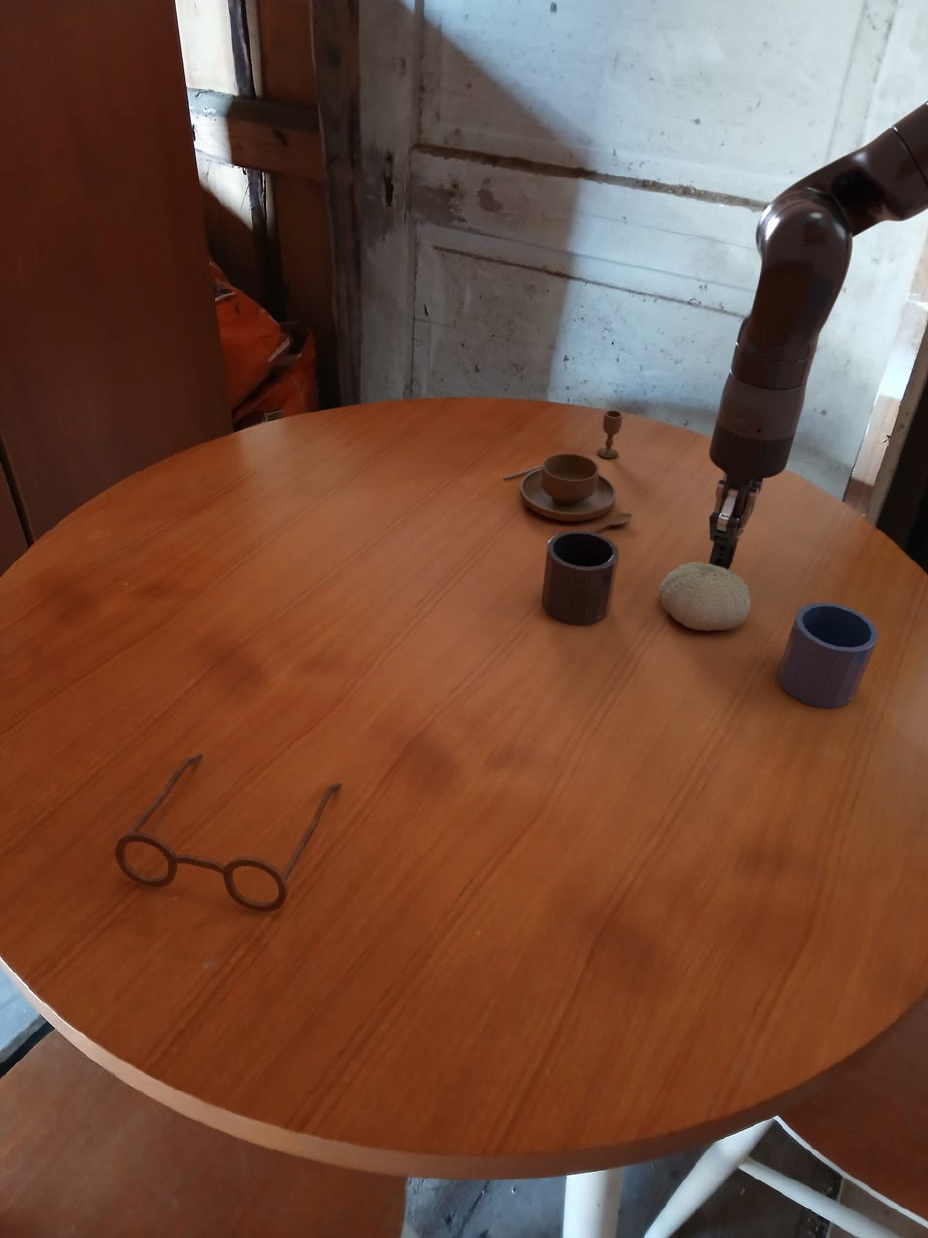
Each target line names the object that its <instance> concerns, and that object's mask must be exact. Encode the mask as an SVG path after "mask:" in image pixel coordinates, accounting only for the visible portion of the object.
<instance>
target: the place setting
mask: <svg viewBox="0 0 928 1238" xmlns="http://www.w3.org/2000/svg"><path fill="white" fill-rule="evenodd" d="M623 415H624V414H623V413H622V412H621V411H620V410H616V409H615V410H614V409H608V410H605V411H604V413H603V420H602V429H603V432H604V433H605V434H606V435H607V437H606V440H605V442H604V443H605V447H602V448H599V449H598V450H597V452H596V453H597V455H598V456H599V457H600V458H603V459H608V460H613V459H616V458H617V457H619V451H617V450H616V449H614V448H612V447H613V446H614V440H613V439H614V435H616V434H618V433H619V432H620V430H621V428H622V424H623V423H622V422H623V418H624V417H623ZM524 474H526V475H525V476H523V478H522V479H521V481H520V485H519V494H520V497H521V499H522V501H523V502H524V504H525V505H526V506H527V507H528V508H529V509H530V510H532V511H533V512H535V513H537V514H539V515H540V516H542V517H546V518H548V519H551V520H555V521H561V522H586V521H590V520H593V519H597V518H599V517H601V516H603V515H605V514H606V513H607V512H609V511H610V510H611V509H612V508H613V506H614V504H615V503H616V499H617V489H616V487H615V485H614V484H613V483H612V482H611V480H609V479H608V478H607V477H605V476H604V475H602V474H601V473H600V467H599V465H598V463H596V461H594V460H593V459H591V458H590V457H588V456H584V455H582V454H577V453H571V452H569V453H567V452H566V453H565V452H564V453H557V454H552V455H550V456H548V457H547V458H545V459H544V460H543V462H542V464H539V465H536V466H533V467H529V468H527V469H524V470H521V471H518V472H515V473H512V474H509V475H506V476H504V477H503V480H508V479H512V478H515V477H518V476H521V475H524ZM632 517H633V516H632V514H631V513H629V512H625V513H618V514H615V515H612V516H611V517H610V519H609V520H608V521H607V522H605V523H602V524H600V525H598V526H596V527H593V528H591V529H589V530H588V529H587V531H590V532H594V533H596V532H597V531H600V530H601V529H604V528H607V527H611V526H614V527H617V526H622V525H625V524H626V523H628V522H629V521H631V519H632Z"/></svg>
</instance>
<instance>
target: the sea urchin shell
mask: <svg viewBox="0 0 928 1238" xmlns="http://www.w3.org/2000/svg"><path fill="white" fill-rule="evenodd" d="M658 591H659V593H658V597H659V598H658V599H659V601H660V602H661V604H662V606H663V607H664V610H665V611H666V613H668V614H669V615H671V617H672V618H673V619H674V620H675V621H676V622H678V623H680V624H681V625H683V626H684V627H685V628H688V629H692V630H695V631H704V632H705V631H706V632H710V631H725V630H731V629H734V628H737V627H738V626H740V625H742V624H743V623H745V621H747V618H748V615H749V612H750V610H751V608H752V601H751V596H750V595H751V594H750V590H749V587H748V586H747V584H746V582H745V580H744V579H743V578H742V576H741V575H739V574H738V573H736V572H734V571H732V570H730V569H728V570H727V569H725V568H723V567H719V566H715V565H712V564H709V563H705V562H703V561H692V562H688V563H683V564H681V565H679V566H678V567H676V568H675V569H673V570H671V571H670V572H669V573H667V576H665V577H664V579H663V580H662V582H661V584H660V586H659V589H658Z"/></svg>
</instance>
